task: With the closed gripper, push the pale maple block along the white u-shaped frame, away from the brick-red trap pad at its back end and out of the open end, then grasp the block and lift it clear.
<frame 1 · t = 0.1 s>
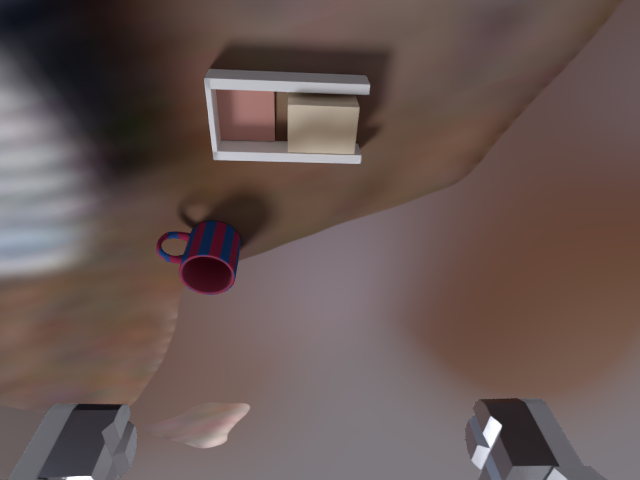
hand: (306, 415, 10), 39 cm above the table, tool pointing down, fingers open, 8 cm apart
block: (320, 113, 45), on the table
white u-shaped frame: (288, 113, 45), on the table
mug: (204, 234, 55), on the table
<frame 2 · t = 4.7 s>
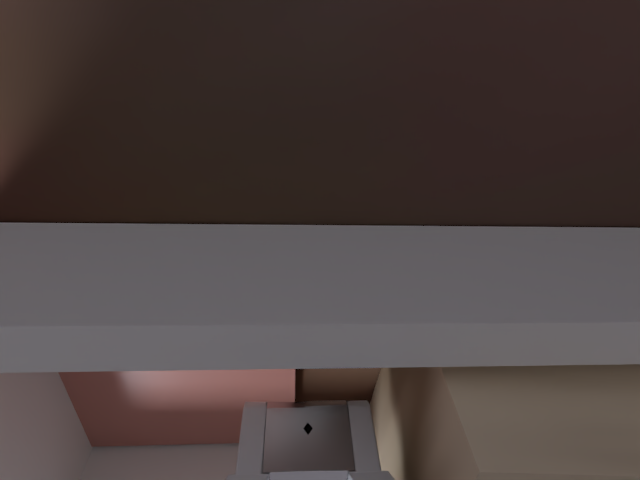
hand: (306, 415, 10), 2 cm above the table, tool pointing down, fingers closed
block: (507, 360, 12), on the table, touching gripper
white u-shaped frame: (350, 361, 11), on the table
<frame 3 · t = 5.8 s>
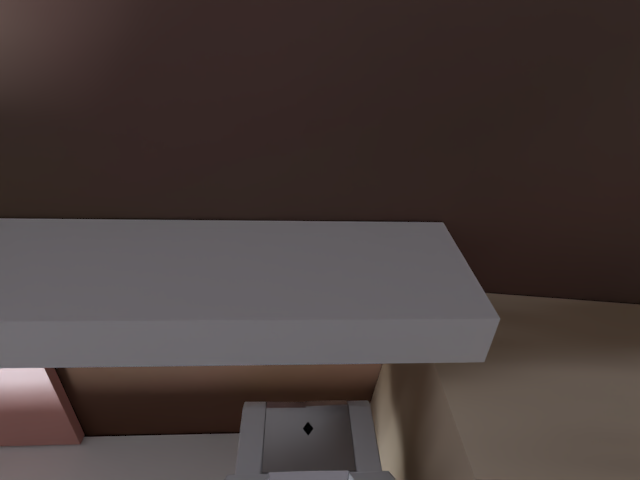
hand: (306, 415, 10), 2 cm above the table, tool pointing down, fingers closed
block: (504, 364, 12), on the table, touching gripper
white u-shaped frame: (111, 361, 11), on the table
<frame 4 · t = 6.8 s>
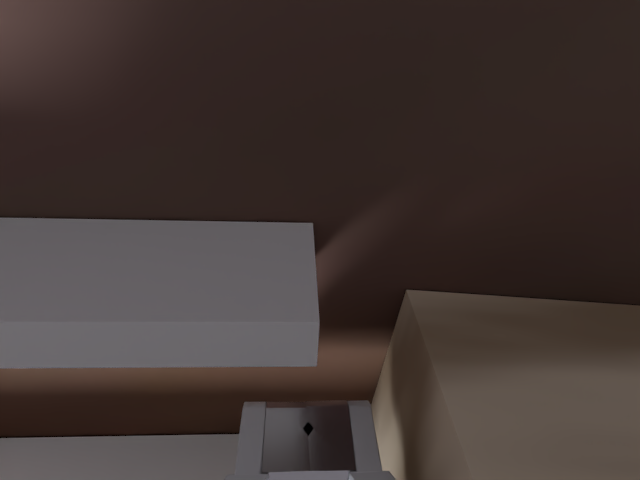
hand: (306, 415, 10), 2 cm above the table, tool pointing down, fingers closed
block: (505, 366, 12), on the table, touching gripper
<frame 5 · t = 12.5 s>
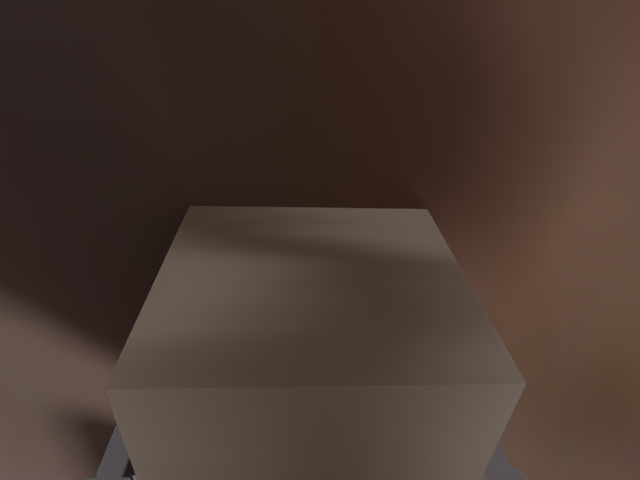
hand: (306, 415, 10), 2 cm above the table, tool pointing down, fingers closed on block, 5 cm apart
block: (306, 328, 11), on the table, touching gripper
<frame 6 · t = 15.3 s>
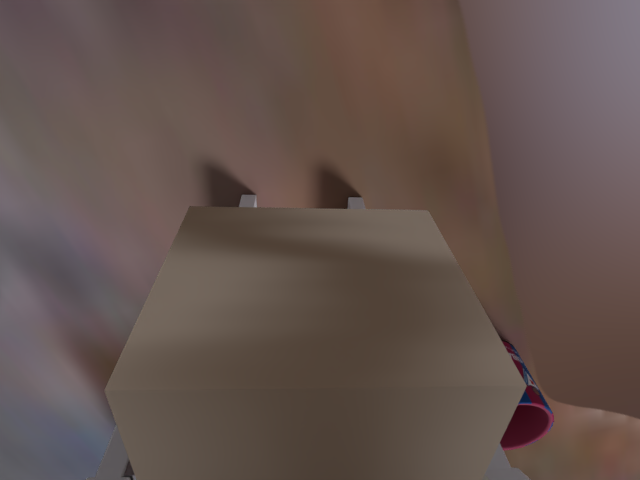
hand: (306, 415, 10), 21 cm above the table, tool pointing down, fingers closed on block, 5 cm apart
block: (306, 329, 11), point 19 cm above the table, touching gripper
white u-shaped frame: (300, 283, 34), on the table
mug: (469, 371, 41), on the table
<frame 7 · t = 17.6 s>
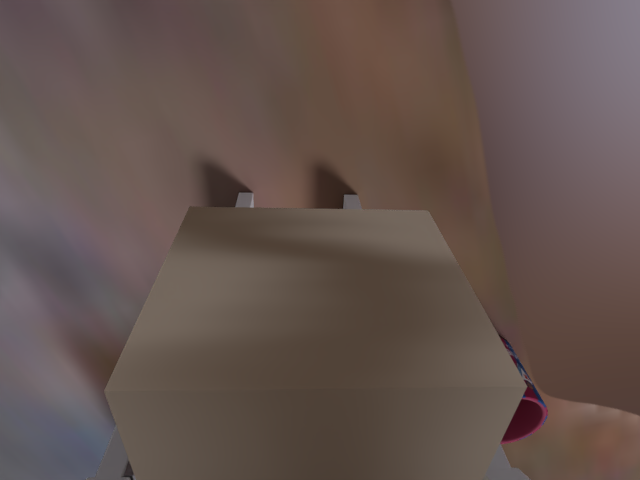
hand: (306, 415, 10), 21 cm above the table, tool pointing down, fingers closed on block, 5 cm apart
block: (306, 329, 11), point 19 cm above the table, touching gripper
white u-shaped frame: (297, 280, 34), on the table
mug: (464, 367, 41), on the table
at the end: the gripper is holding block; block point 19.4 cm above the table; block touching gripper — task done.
